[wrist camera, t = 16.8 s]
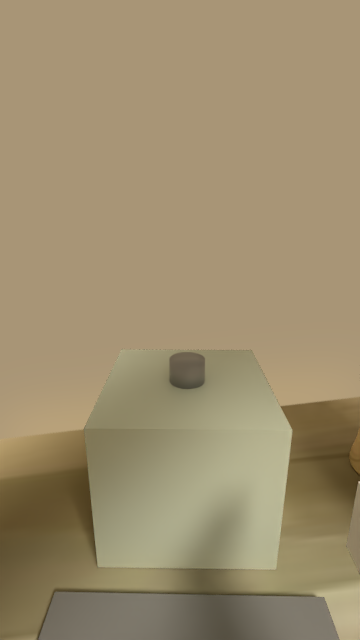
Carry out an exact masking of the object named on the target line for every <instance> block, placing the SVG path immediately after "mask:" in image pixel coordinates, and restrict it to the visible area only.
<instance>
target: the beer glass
mask: <svg viewBox="0 0 360 640" xmlns="http://www.w3.org/2000/svg"><path fill="white" fill-rule="evenodd" d="M349 460H350V463H351V465H352V467H353V468H354V470H355V471H356V472H357V473H358V474H359V475H360V427H359V431H358V434H357V436H356V439H355V441H354V443H353V445H352V448H351V450H350V453H349Z"/></svg>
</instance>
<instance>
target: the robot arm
mask: <svg viewBox="0 0 360 640" xmlns="http://www.w3.org/2000/svg"><path fill="white" fill-rule="evenodd" d="M346 547H347V549H348V551H349V553H350V555H351V557H352V559H353V561H354V563H355V566H356V568H357V570H358V572H359V574H360V481H358V486H357V491H356V497H355V502H354V507H353V513H352V518H351V523H350V529H349V534H348V539H347V545H346Z"/></svg>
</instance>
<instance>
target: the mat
mask: <svg viewBox="0 0 360 640" xmlns="http://www.w3.org/2000/svg"><path fill="white" fill-rule="evenodd" d="M38 640H339V637H338V634H337V631H336V629H335V626H334V623H333V620H332V618H331V615H330V612H329V609H328V607H327V604H326V601H325V598H324V597H297V596H247V595H196V594H145V593H94V592H55V593H54V596H53V599H52V601H51V604H50V607H49V610H48V613H47V616H46V619H45V621H44V624H43V627H42V630H41V633H40V636H39V639H38Z"/></svg>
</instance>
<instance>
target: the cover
mask: <svg viewBox="0 0 360 640" xmlns="http://www.w3.org/2000/svg"><path fill="white" fill-rule="evenodd" d="M292 431H293V430H292V428H291V426H290V424H289V422H288V420H287V418H286V417H285V415H284V413H283V411H282V409H281V407H280V405H279V403H278V401H277V399H276V397H275V395H274V393H273V391H272V389H271V387H270V385H269V383H268V381H267V379H266V377H265V375H264V374H263V371H262V369H261V367H260V366H259V364H258V362H257V360H256V358H255V356H254V354H253V352H252V350H121V352H120V354H119V356H118V358H117V361H116V362H115V365H114V367H113V369H112V371H111V373H110V375H109V377H108V379H107V382H106V384H105V386H104V388H103V390H102V392H101V394H100V396H99V398H98V400H97V402H96V405H95V406H94V409H93V411H92V413H91V415H90V417H89V419H88V421H87V423H86V425H85V428H84V434H85V444H86V454H87V465H88V475H89V485H90V495H91V505H92V515H93V525H94V536H95V546H96V556H97V566H98V567H112V568H186V569H260V570H276V566H277V557H278V549H279V540H280V532H281V523H282V515H283V507H284V498H285V490H286V481H287V473H288V464H289V456H290V448H291V439H292Z"/></svg>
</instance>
